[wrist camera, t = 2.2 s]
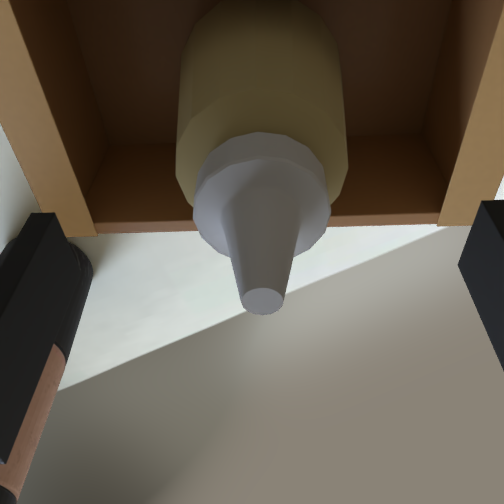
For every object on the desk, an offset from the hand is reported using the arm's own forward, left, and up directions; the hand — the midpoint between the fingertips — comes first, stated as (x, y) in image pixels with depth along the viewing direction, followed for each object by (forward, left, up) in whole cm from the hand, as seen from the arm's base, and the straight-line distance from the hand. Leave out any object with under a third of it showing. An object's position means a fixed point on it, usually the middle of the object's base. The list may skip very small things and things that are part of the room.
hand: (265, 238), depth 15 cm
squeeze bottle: (0, 0, -15) cm, 15 cm away
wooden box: (0, 0, -15) cm, 15 cm away
